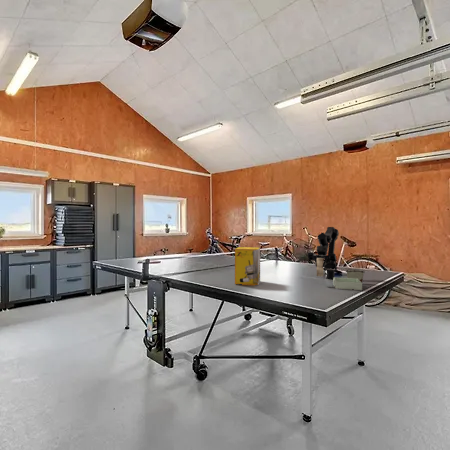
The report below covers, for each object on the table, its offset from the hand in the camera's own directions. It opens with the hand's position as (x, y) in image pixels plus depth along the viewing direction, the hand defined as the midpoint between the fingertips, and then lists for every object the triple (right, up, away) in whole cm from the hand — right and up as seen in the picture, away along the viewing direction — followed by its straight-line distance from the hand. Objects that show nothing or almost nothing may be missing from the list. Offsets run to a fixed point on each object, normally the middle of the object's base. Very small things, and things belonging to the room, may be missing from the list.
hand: (319, 266), depth 202 cm
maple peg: (+1, -7, +1) cm, 7 cm away
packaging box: (-48, -14, +11) cm, 51 cm away
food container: (+29, -14, +11) cm, 33 cm away
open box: (+18, -13, -2) cm, 23 cm away
